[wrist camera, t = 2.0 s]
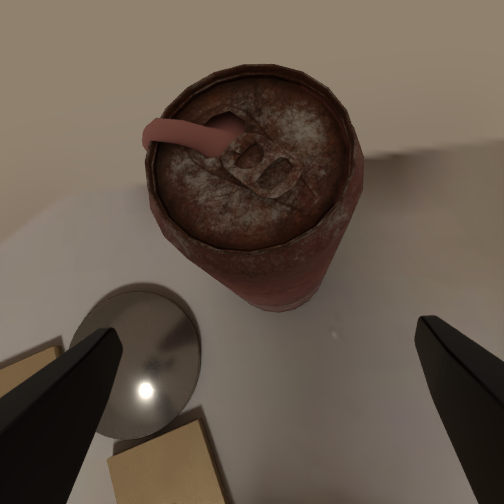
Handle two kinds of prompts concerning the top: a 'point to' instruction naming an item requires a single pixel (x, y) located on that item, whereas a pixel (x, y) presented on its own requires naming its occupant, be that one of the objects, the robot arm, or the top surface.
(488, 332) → the top surface
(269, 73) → the can
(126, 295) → the flat squares and disc
